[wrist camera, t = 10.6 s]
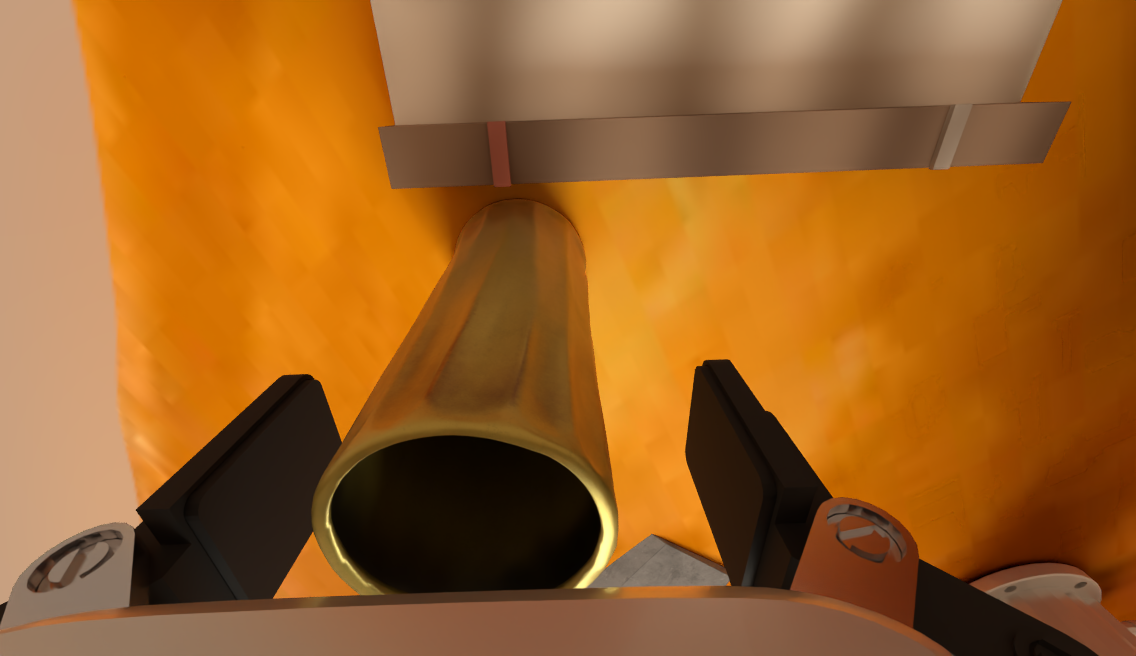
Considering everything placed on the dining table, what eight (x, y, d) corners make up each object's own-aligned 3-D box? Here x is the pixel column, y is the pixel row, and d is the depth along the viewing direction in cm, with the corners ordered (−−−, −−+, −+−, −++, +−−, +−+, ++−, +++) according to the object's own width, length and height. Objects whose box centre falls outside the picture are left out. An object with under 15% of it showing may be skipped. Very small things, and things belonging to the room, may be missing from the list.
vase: (491, 338, 22) (410, 666, 9) (429, 229, 19) (184, 477, 6) (603, 296, 21) (687, 592, 8) (554, 175, 18) (567, 335, 5)
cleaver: (565, 722, 43) (566, 750, 41) (476, 707, 41) (472, 736, 39) (739, 553, 32) (752, 581, 30) (629, 518, 29) (635, 546, 28)
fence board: (1099, -179, 14) (1245, -255, 11) (970, 156, 18) (1047, 165, 15) (350, -161, 13) (295, -235, 10) (415, 178, 18) (390, 191, 15)
